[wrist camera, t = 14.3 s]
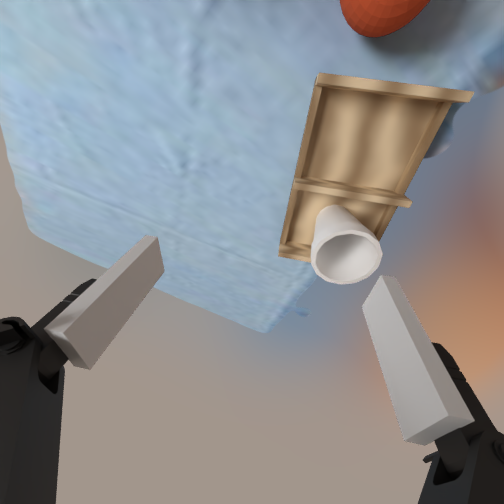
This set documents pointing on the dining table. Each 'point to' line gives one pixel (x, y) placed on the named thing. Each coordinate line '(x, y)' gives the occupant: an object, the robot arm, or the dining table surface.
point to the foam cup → (343, 247)
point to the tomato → (380, 15)
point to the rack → (360, 152)
